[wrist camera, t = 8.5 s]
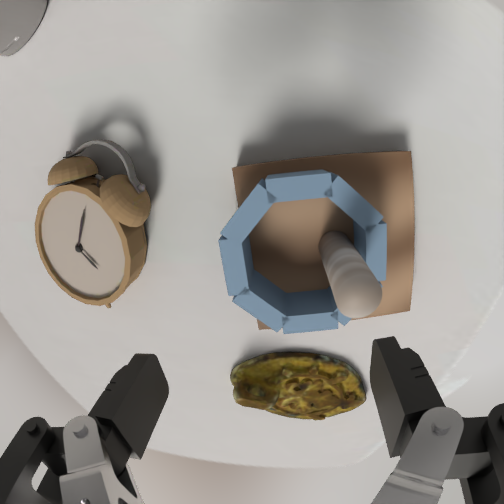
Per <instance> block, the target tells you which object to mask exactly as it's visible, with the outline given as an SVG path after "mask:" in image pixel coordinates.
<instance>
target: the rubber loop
mask: <svg viewBox="0 0 504 504" xmlns="http://www.w3.org/2000/svg"><path fill="white" fill-rule="evenodd" d="M326 197H328V198H329V199H330V200H331V201H332V202H334V203H335V204H336V205H337V206H338V207H339V208H341V209H342V210H343V211H344V212H345V213H346V214H348V215H349V216H350V217H351V218H352V219H353V227H354V247H355V248H356V249H357V251H358V252H359V254H360V255H361V257H362V258H363V260H364V261H365V262H366V264H367V265H368V267H369V268H370V270H371V271H372V273H373V274H374V276H375V277H376V279H377V280H378V282H379V283H380V281H384V280H386V263H387V223H385V222H384V221H383V220H382V219H383V216H382V215H381V214H380V213H379V212H378V211H377V210H376V209H375V208H374V207H373V206H372V205H371V204H370V203H369V202H368V201H366V200H365V199H364V198H363V197H362V196H361V195H360V194H359V193H358V192H357V191H355V190H354V189H353V188H352V187H351V186H350V185H349V184H348V183H346V182H345V181H344V180H343V179H342V178H341V177H339V176H338V175H336V174H334V173H332V172H327V171H325V170H323V169H321V170H310V171H299V172H290V173H280V174H272V175H268V176H267V177H266V179H265V180H264V179H261V180H260V181H259V183H258V184H257V185H256V187H255V188H254V189H253V190H252V192H251V193H250V194H249V196H248V197H247V198H246V199H245V201H244V202H243V203H242V205H241V206H240V207H239V209H238V210H237V211H236V213H235V214H234V215H233V216H232V218H231V219H230V220H229V222H228V223H227V225H226V226H225V227H224V229H223V230H222V231H221V233H220V234H222V236H221V237H220V239H219V240H218V241H219V247H220V252H221V258H222V263H223V269H224V274H225V280H226V285H227V290H228V295H229V296H233V295H234V298H233V301H232V302H234V303H235V304H237V305H238V306H239V307H241V308H242V309H244V310H245V311H247V312H248V313H250V314H251V315H252V316H254V317H255V318H257V319H258V320H260V321H261V322H263V323H264V324H265V325H267V326H268V327H270V328H271V329H273V330H274V331H276V332H278V331H279V330H280V329H281V328H282V327H283V333H284V334H289V333H301V332H312V331H321V330H331V329H338V322H340V323H341V324H343V325H344V326H345V325H346V324H347V323H348V322H349V321H350V320H351V319H352V318H349V317H347V316H345V315H343V314H342V313H341V312H340V311H339V309H338V308H337V305H336V302H335V299H334V295H333V292H332V289H331V286H329V287H328V288H327V289H322V290H312V291H302V292H292V293H286V292H284V291H283V290H282V289H280V288H279V287H278V286H276V285H275V284H273V283H272V282H271V281H269V280H268V279H267V278H265V277H264V276H263V275H261V274H260V273H259V272H257V271H256V270H254V266H253V260H252V253H251V246H250V239H249V233H250V232H251V231H252V229H253V228H254V227H255V226H256V224H257V223H258V222H259V221H260V219H261V218H262V217H263V216H264V214H265V213H266V212H267V211H268V209H269V208H270V207H271V206H272V204H273V203H276V202H285V201H295V200H305V199H315V198H326ZM380 285H381V288H382V287H383V286H382V284H381V283H380Z"/></svg>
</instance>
